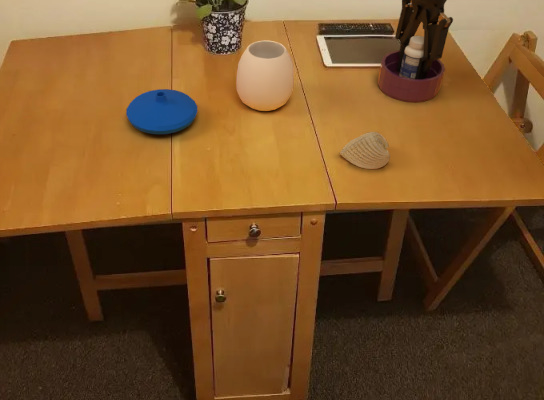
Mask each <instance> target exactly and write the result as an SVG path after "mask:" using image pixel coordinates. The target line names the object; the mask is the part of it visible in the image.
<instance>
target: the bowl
mask: <svg viewBox="0 0 544 400" xmlns="http://www.w3.org/2000/svg"><path fill="white" fill-rule="evenodd" d="M399 50H400V49H397V50H393V51H390V52H388V53H386V54H384V56H383V57H382V59H381V62H380V65H379V66H380V67H379V71H378V76H377V84H378V87H379V89H380V91H381V92H382V93H383V94H384V95H385V96H387V97H389V98H391V99H394V100H396V101H400V102H405V103H422V102H423V103H424V102H428V101H429V100H432V99H433V98H435V97H436V96H437V95H438V94H439V91H440V88H441V85H442V81H443V79H444V75H445V71H446V67H445V64H444V63H443V62H442V61H441V60H440V59H437V60H434V61H432V65H431V69H430V71H428V72H427V75H426V79H422V80H419V79H409V78H405V77H401V76H399V74H400V72H397V67H398V63H399V58H400V57H399Z"/></svg>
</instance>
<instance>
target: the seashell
mask: <svg viewBox="0 0 544 400" xmlns="http://www.w3.org/2000/svg"><path fill="white" fill-rule="evenodd" d="M388 148H389V142H388V141H387V139H386V138H385V136H383V135H382V134H381V133H380V132H377V131H370V132H369V131H368V132H365V133H363V134H361V135H359V136H357V137H355V138H353V139H350V141H349V142H348V143H346V144H345V145H344V147H343V148H341V151H340V152H339V154H340V156H342V157H343V158H344V159H345V160H346V161H348V162H349V163H351V164H352V165H354V166H356V167H358V168H362V169H366V170H377V169H380V168H383V167H385V166H386V165H387V164H388V163H389V162H390V158H391V154H390V152H389V150H388Z"/></svg>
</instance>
